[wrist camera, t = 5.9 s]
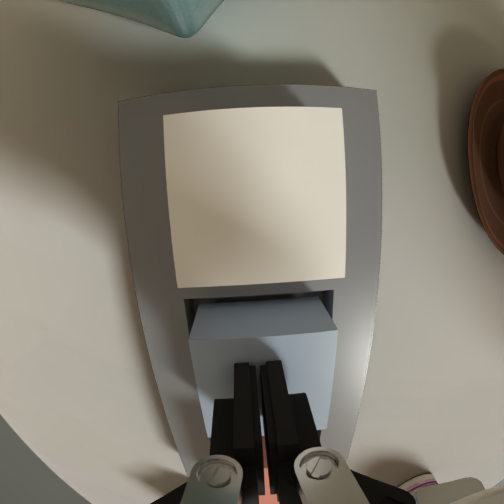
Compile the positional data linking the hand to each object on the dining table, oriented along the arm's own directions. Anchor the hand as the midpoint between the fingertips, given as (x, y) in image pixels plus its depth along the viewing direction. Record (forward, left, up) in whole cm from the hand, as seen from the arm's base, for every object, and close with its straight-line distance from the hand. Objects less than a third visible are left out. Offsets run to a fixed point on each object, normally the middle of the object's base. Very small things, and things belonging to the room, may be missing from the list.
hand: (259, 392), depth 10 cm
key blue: (0, 0, -3) cm, 3 cm away
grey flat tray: (0, 0, -5) cm, 5 cm away
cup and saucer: (-17, -9, -5) cm, 20 cm away
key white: (0, -7, -3) cm, 7 cm away
